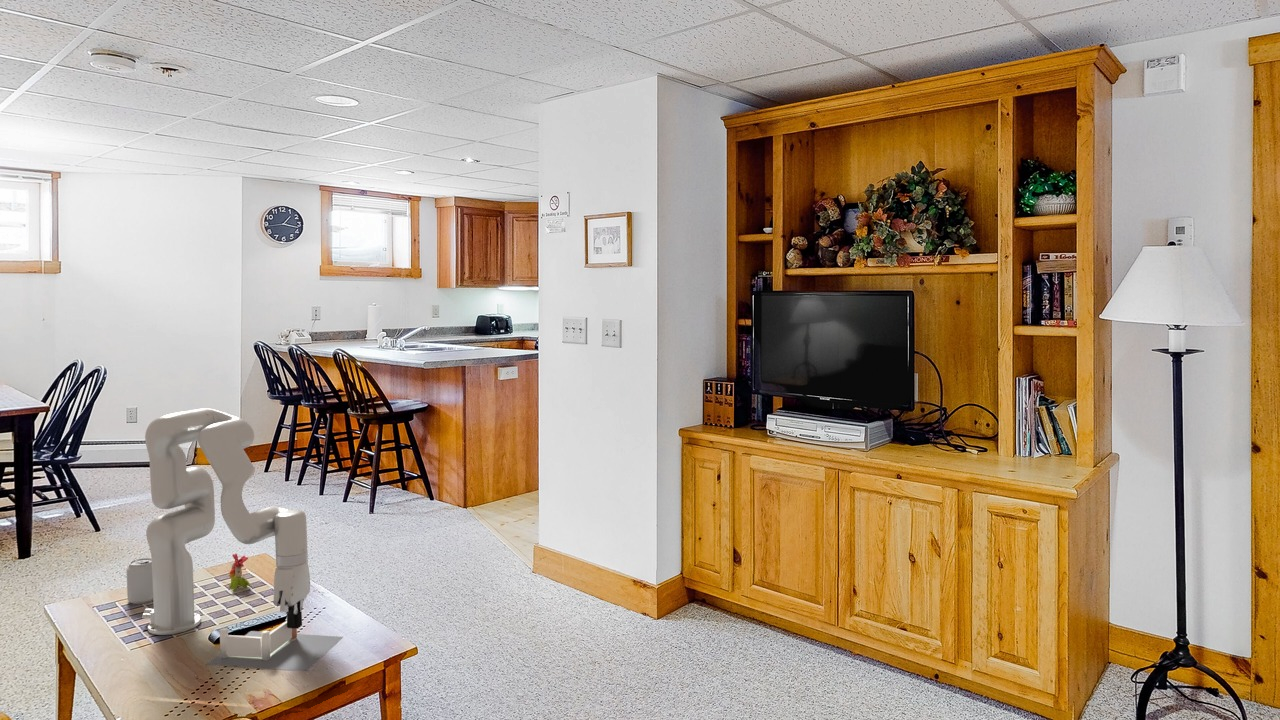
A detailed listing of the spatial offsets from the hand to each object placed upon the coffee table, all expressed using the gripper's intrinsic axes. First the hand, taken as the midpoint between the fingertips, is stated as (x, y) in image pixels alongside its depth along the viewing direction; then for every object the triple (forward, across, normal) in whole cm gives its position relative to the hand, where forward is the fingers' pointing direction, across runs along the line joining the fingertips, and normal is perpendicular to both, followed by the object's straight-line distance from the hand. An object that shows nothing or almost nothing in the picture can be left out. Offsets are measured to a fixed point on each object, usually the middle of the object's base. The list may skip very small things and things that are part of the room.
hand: (294, 626), depth 203 cm
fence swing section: (+4, +2, -2) cm, 5 cm away
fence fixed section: (+4, +9, -8) cm, 13 cm away
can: (+4, -21, -60) cm, 64 cm away
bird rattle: (+4, -34, -40) cm, 52 cm away
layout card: (+5, +4, -3) cm, 7 cm away
